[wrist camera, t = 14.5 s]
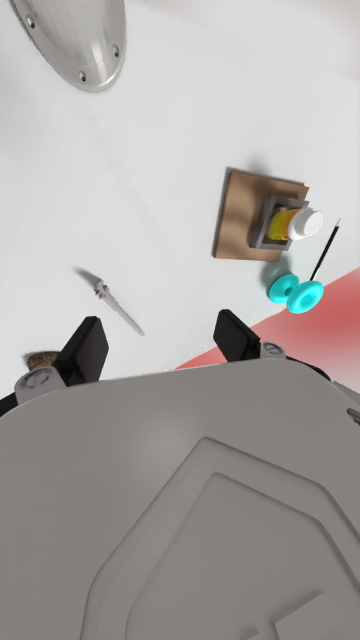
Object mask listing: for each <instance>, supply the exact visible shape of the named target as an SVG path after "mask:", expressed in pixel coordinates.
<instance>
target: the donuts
mask: <svg viewBox="0 0 360 640" xmlns="http://www.w3.org/2000/svg"><path fill="white" fill-rule="evenodd" d="M286 289H287V290H286ZM322 294H323V286H322V284H321V283H320V282H318V281H307V282H304V283H302V284H300V280H299V278H298V277H297V276H296V275H292V274H288V275H284V276H282V277H280V278H279V279H278V280H277V281H275V283H274V284H273V285H272V287H271V289H270V292H269V297H270V300H271V301H272V302H274V303H277V304H281V303H285V302H287V303H286V305H287V308H288V310H289V311H291V312H292V313H302V312H306V311H308V310H309V309H311V308H312V307H314V306H315V305H316V304H317V303H318V301H319V300H320V299H321V297H322Z"/></svg>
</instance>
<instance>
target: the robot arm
mask: <svg viewBox="0 0 360 640" xmlns="http://www.w3.org/2000/svg"><path fill="white" fill-rule="evenodd" d="M13 1H14V3H15V6H16V8H17V10H18V12H19V14H20V16H21V18H22V20H23V22H24V24H25V26H26V28H27V30H28V31H29V33H30V35H31V36H32V38H33V40H34V41H35V43H36V45H37V47H38V48H39V49H40V51H41V52H42V54H43V55H44V56H45V58H46V59H47V61H48V62H49V63H50V64H51V65H52V67H53V68H54V69H55V70H56V71H57V72H58V73H59V74H60V75H61V76H62V77H63V78H64V79H65V80H67V81H68V82H69V83H70V84H72V85H74V86H75V87H77V88H79V89H81V90H84V91H87V92H94V93H98V92H102V91H105V90H106V89H108V88H109V87H111V86H112V85H113V83H114V82H115V81H116V79H117V78H118V76H119V74H120V71H121V69H122V66H123V62H124V57H125V50H126V18H125V8H124V0H13ZM34 27H35V28H34ZM33 28H34V29H33ZM116 55H117V56H118V57H116ZM83 79H85V80H86V81H85V82H83ZM213 339H214V341H215V342H216V344H217V346H218V347H219V349H220V350H221V352H222V353H223V355H224V356H225V358H226V360H227V361H228V363H220V364H213V365H206V366H198V367H191V368H184V369H176V370H169V371H162V372H155V373H148V374H142V375H135V376H128V377H121V378H114V379H108V380H101V381H99V377H100V374H101V371H102V368H103V365H104V362H105V359H106V356H107V353H108V350H109V346H108V343H107V340H106V336H105V333H104V330H103V327H102V323H101V320H100V318H97V317H96V316H89V317H86V318H85V319H84V320H83V322H82V323H81V325H80V326H79V327H78V329H77V330H76V331H75V333H74V334H73V336H72V337H71V338H70V340H69V341H68V342H67V344H66V345H65V347H64V348H63V349H62V351H61V352H60V353H59V355H58V356H57V358H56V359H55V360H54V362H53V363H52V364H51V366H43V367H39V368H36V369H34V370H32V371H30V372H28V373H26V374H25V375H24V376H22V377H21V378H20V379H19V380H18V381H17V383H16V384H15V387H14V390H15V392H14V393H12V394H10V395H8V396H6V397H5V398H3V399H1V400H0V640H360V394H358V393H356V392H355V391H353V390H351V389H349V388H347V387H345V386H343V385H342V384H340V383H338V382H336V381H333V382H331V380H330V378H329V377H328V375H326V373H324V371H322V370H321V369H319V368H317V367H314V366H312V365H309V364H307V363H304V362H301V361H299V360H296V359H293V358H291V357H288V356H286V355H285V351H284V350H283V349H282V347H280V346H279V345H277V344H275V343H273V342H269V341H264V342H262V343H260V342H259V341H260V338H259V337H258V336H257V335H256V334H255V333H254V332H253V331H252V330H251V329H250V328H249V327H247V326H246V325H245V324H244V323H243V322H242V321H241V320H240V319H239V318H238V317H237V316H236V315H234V314H233V313H232V312H231V311H230V310H229V309H222V310H221V311H220V312H219V314H218V318H217V322H216V326H215V331H214V335H213Z"/></svg>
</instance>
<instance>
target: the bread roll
mask: <svg viewBox="0 0 360 640" xmlns="http://www.w3.org/2000/svg"><path fill="white" fill-rule="evenodd" d="M59 353H60V352H57V353H56V352H46V353H42V354H35V355H33V356H32V357H30V358H29V359H28V362H27V363H28V366H29V371H32V370H34V369H36V368H39V367H43V366H51V364H52V363H53V362H54V360H55V359H56V358H57V356H58V355H59Z"/></svg>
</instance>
